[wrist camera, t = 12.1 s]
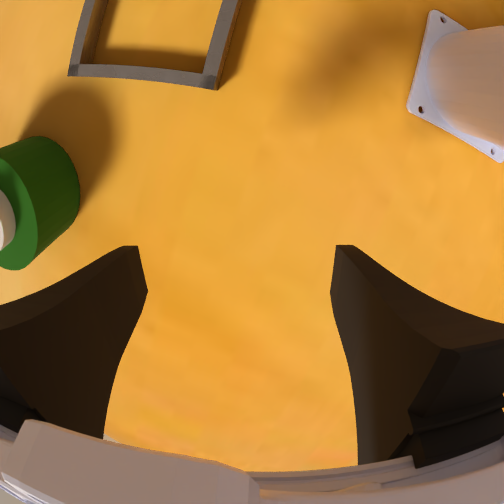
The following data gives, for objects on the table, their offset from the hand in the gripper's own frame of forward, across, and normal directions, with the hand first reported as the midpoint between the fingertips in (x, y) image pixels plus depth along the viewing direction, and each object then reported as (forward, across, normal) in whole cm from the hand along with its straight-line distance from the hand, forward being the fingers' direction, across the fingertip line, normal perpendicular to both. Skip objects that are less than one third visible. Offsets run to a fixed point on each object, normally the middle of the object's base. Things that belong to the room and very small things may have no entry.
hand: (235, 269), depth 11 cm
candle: (+10, +16, -1) cm, 19 cm away
